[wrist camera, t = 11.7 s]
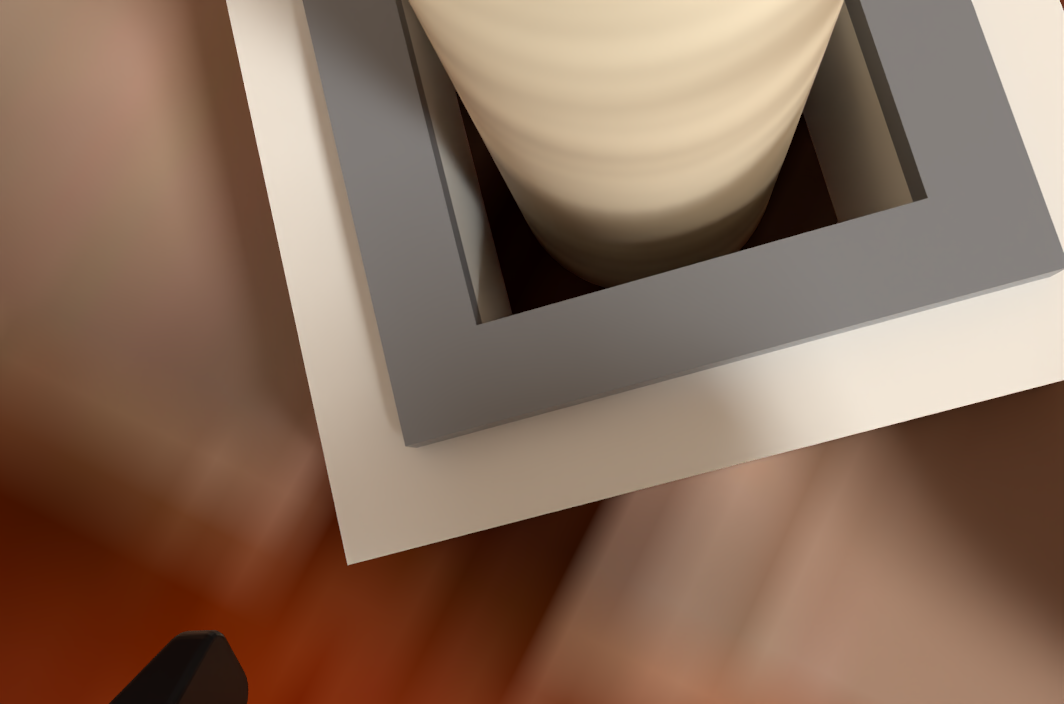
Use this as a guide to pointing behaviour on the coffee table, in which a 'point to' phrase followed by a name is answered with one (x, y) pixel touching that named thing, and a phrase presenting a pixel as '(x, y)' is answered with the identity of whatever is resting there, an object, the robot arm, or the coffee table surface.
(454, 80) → the beech pin
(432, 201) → the socket block
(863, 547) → the coffee table surface
